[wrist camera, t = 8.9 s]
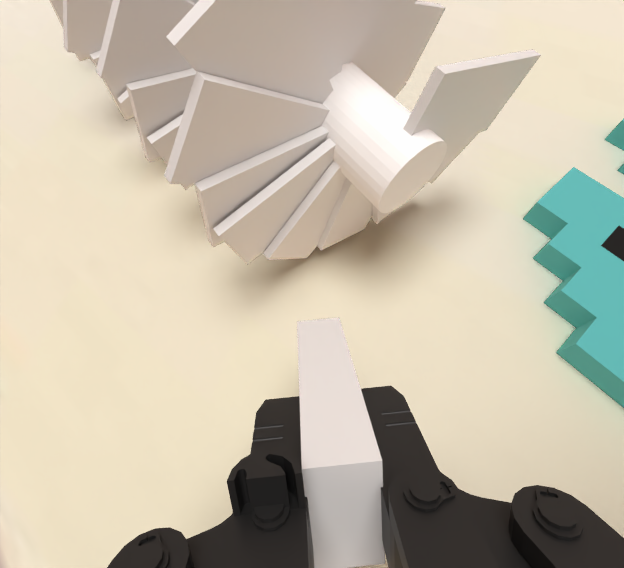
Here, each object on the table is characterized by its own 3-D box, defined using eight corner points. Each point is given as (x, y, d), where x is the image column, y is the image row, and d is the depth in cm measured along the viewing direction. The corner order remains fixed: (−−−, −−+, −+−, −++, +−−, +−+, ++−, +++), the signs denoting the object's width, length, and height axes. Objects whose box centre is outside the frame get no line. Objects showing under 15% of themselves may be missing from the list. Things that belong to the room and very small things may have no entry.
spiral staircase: (321, 318, 27) (154, 112, 34) (521, 139, 24) (292, -42, 31) (113, 291, 9) (-132, -113, 17) (746, -364, 7) (117, -497, 14)
